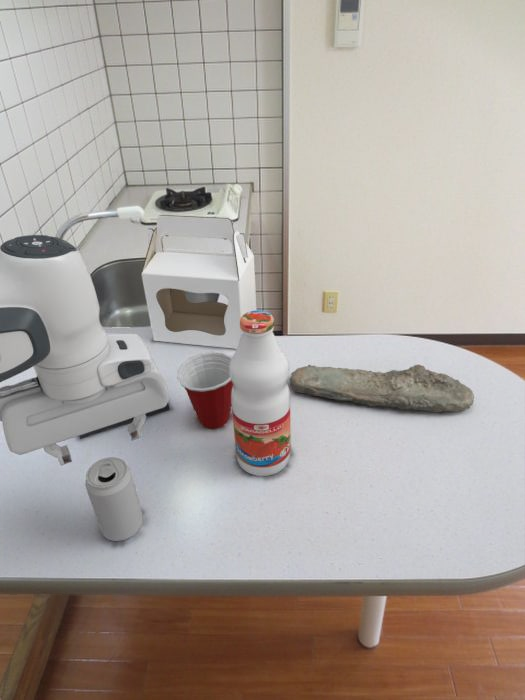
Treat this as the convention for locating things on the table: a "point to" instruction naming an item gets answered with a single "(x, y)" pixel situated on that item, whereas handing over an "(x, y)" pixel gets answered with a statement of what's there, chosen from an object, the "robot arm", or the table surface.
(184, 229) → the gable box
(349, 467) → the table surface
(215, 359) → the plastic cup
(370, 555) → the table surface
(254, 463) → the fruit juice
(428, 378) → the long grey stone
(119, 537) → the beverage can
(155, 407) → the robot arm
